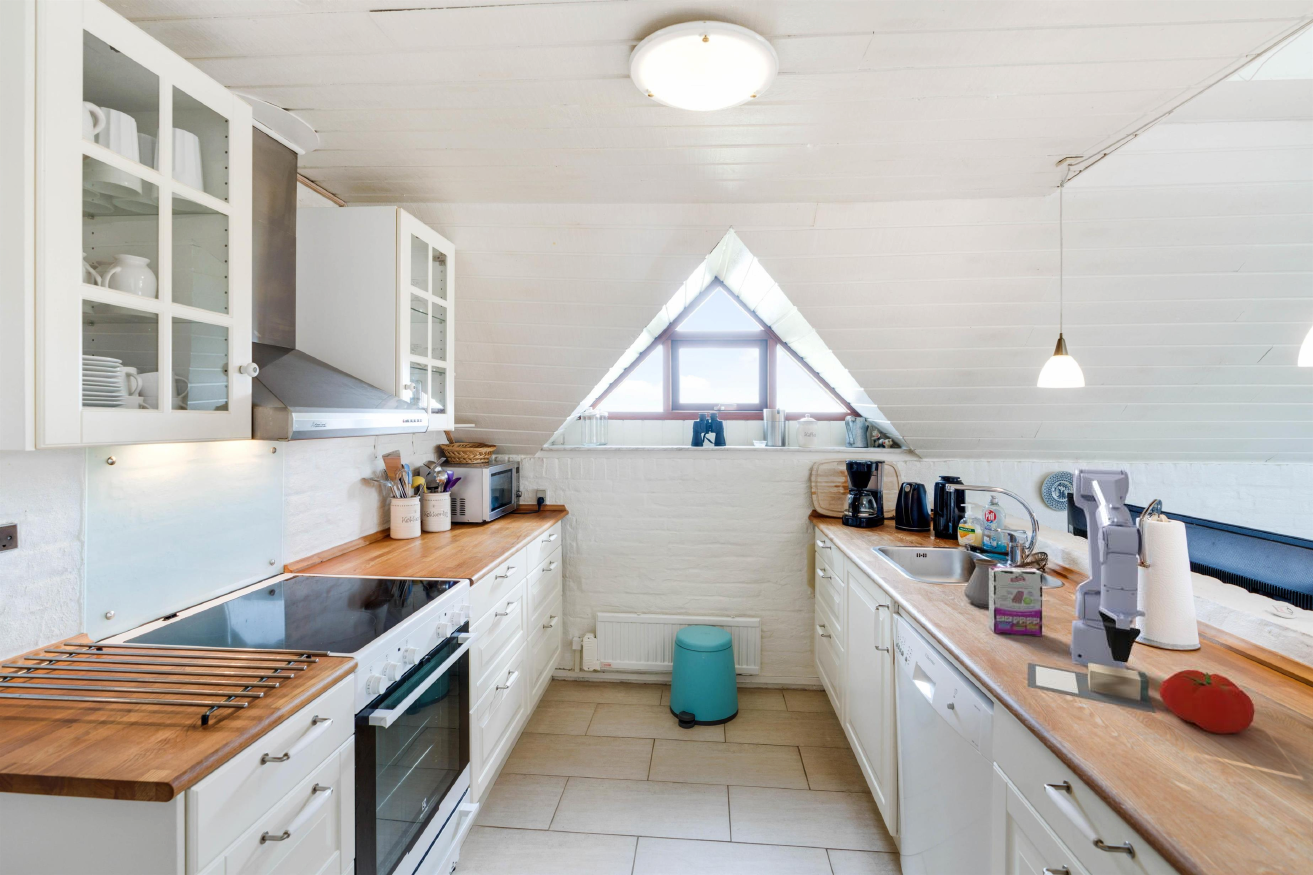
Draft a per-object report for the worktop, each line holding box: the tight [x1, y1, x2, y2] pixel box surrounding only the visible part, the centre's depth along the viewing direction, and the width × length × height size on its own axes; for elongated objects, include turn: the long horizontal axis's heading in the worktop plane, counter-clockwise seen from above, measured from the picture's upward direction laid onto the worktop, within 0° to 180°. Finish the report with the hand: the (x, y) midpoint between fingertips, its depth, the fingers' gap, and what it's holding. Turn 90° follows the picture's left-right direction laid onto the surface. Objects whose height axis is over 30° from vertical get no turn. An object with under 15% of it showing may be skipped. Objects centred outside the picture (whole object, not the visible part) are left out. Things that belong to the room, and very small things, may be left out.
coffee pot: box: [963, 557, 1049, 608], centre depth 172 cm, size 21×12×15 cm, turn 68°
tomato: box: [1158, 669, 1256, 735], centre depth 104 cm, size 13×12×8 cm
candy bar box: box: [988, 566, 1043, 637], centre depth 150 cm, size 11×5×16 cm, turn 76°
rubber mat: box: [1026, 662, 1156, 714], centre depth 119 cm, size 20×14×1 cm
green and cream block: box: [1087, 663, 1150, 702], centre depth 116 cm, size 9×5×4 cm, turn 57°
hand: (1117, 654), depth 116 cm, fingers open, 7 cm apart
